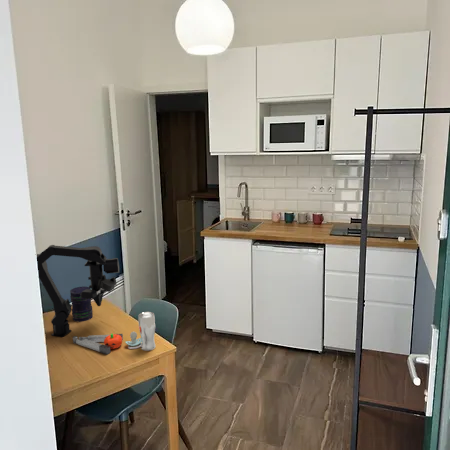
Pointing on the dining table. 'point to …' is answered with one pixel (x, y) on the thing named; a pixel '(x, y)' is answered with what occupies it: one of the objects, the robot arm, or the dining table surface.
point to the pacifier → (134, 341)
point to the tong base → (92, 345)
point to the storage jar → (80, 305)
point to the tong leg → (97, 337)
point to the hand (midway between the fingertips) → (99, 305)
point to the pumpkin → (113, 341)
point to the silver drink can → (147, 330)
